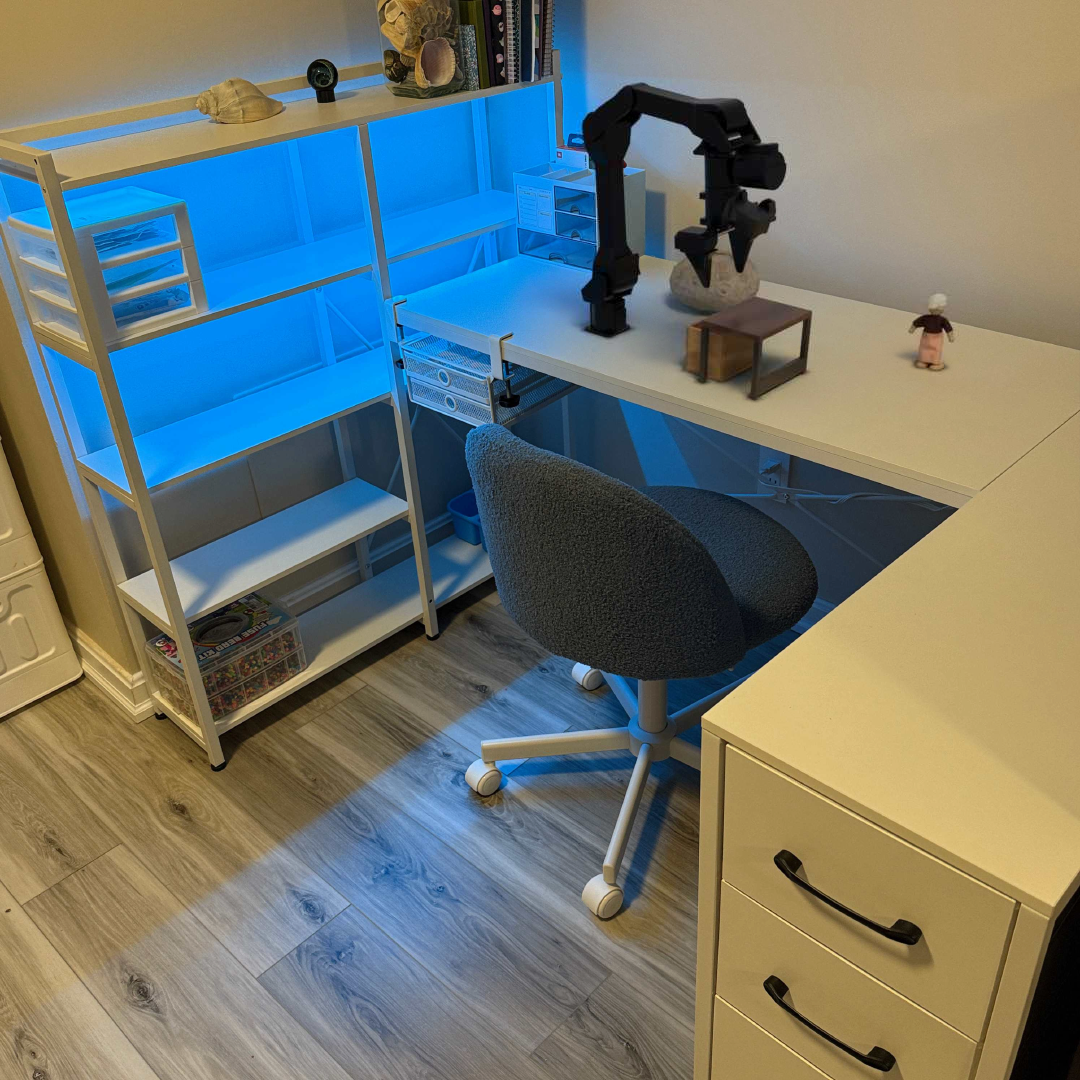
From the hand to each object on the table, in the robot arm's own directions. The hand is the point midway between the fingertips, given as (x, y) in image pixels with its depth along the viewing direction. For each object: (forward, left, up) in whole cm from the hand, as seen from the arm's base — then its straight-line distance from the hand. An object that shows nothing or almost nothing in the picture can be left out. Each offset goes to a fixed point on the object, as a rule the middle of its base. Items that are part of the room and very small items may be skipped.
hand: (723, 280), depth 176 cm
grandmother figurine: (+27, +22, -15) cm, 39 cm away
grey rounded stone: (-20, +24, -15) cm, 35 cm away
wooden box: (+1, -1, -15) cm, 15 cm away
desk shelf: (+8, -1, -15) cm, 17 cm away
